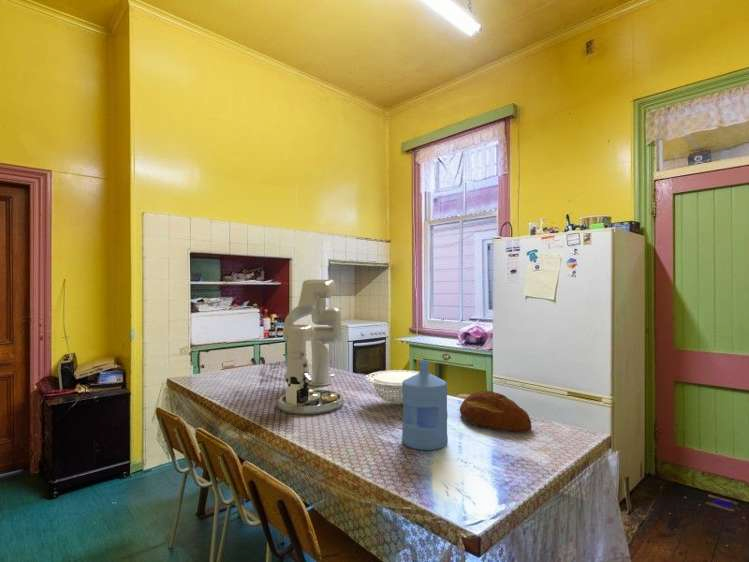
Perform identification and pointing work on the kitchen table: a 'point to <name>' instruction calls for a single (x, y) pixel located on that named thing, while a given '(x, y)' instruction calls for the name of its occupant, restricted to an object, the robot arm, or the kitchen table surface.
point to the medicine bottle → (295, 393)
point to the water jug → (424, 410)
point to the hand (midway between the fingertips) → (297, 395)
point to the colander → (390, 383)
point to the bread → (495, 412)
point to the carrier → (314, 403)
